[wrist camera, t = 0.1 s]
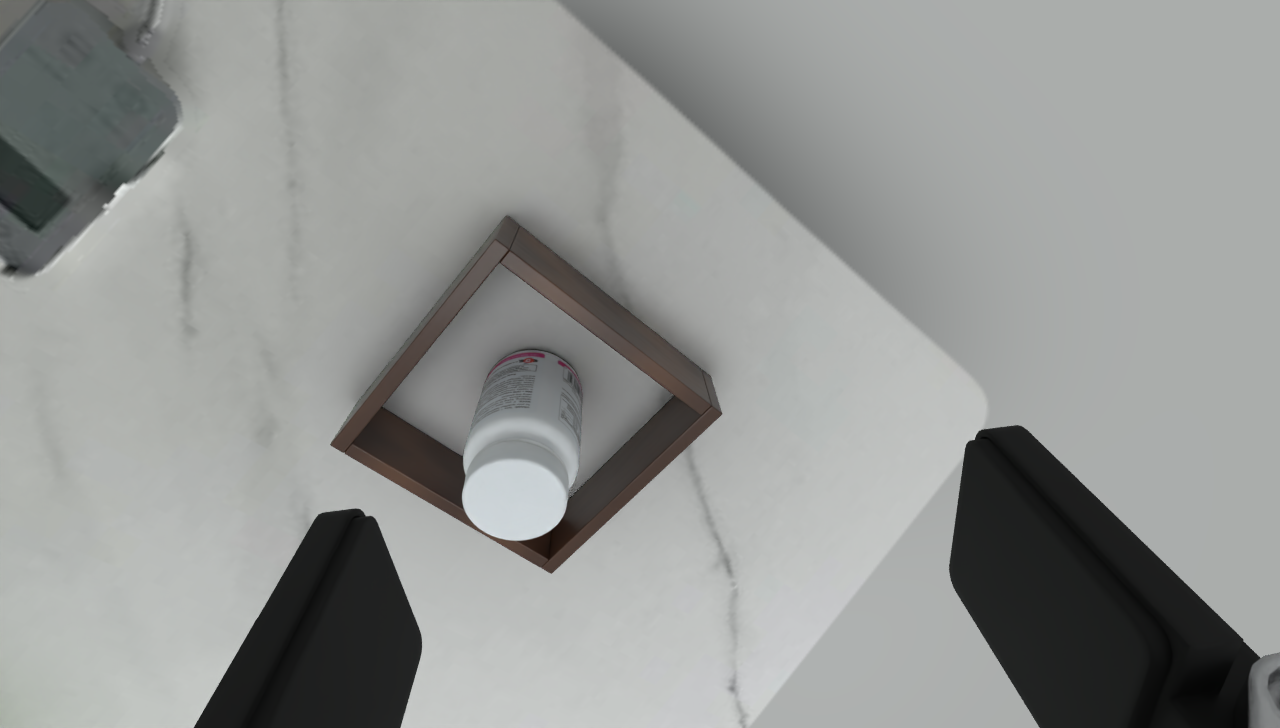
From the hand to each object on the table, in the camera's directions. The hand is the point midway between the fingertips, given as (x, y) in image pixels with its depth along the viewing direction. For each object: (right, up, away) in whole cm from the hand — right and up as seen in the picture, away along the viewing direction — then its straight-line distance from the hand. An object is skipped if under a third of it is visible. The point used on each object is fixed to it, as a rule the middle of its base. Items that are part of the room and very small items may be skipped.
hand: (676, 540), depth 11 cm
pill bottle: (-6, +2, +22) cm, 23 cm away
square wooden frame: (-6, +2, +22) cm, 23 cm away
